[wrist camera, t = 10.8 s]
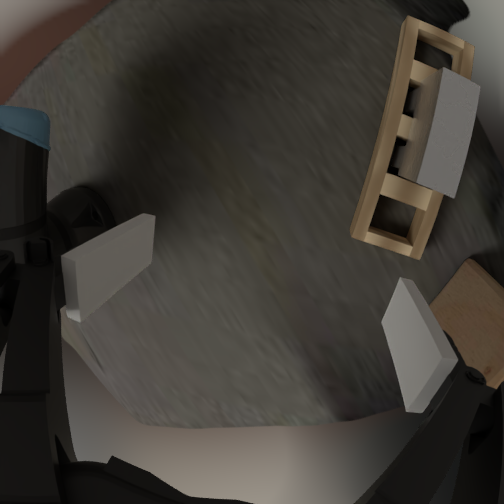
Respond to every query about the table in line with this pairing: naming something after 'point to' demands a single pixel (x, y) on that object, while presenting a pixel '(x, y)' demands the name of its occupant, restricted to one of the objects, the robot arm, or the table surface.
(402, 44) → the rail
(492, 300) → the wooden block
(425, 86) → the grey concrete brick
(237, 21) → the table surface
